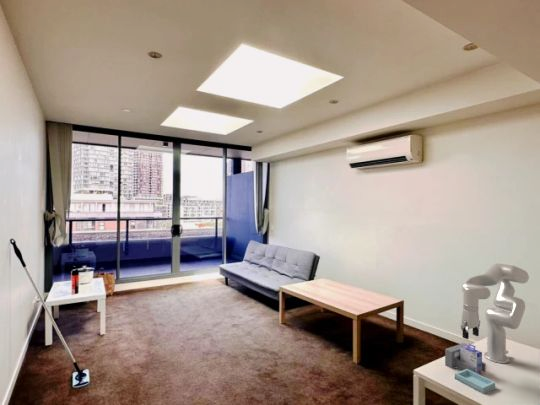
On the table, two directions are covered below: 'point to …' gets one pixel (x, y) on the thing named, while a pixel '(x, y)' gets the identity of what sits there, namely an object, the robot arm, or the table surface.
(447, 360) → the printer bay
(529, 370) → the table surface
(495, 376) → the table surface
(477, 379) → the tray
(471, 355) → the ink cartridge box
